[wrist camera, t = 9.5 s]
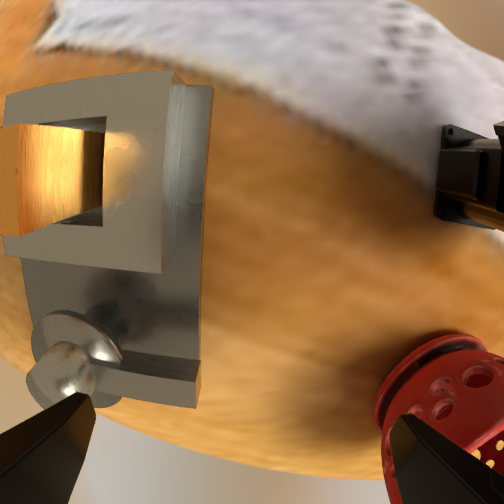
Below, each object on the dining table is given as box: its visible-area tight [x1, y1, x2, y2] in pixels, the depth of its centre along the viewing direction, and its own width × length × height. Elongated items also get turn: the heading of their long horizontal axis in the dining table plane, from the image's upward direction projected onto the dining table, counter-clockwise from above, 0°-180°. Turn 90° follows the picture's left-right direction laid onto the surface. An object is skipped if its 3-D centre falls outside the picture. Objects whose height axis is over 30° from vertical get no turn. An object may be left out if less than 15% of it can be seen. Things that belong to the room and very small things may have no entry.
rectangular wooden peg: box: [0, 123, 105, 237], centre depth 13 cm, size 3×4×9 cm
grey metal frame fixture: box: [3, 70, 214, 409], centre depth 15 cm, size 15×19×8 cm
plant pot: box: [373, 334, 504, 504], centre depth 17 cm, size 13×13×12 cm
